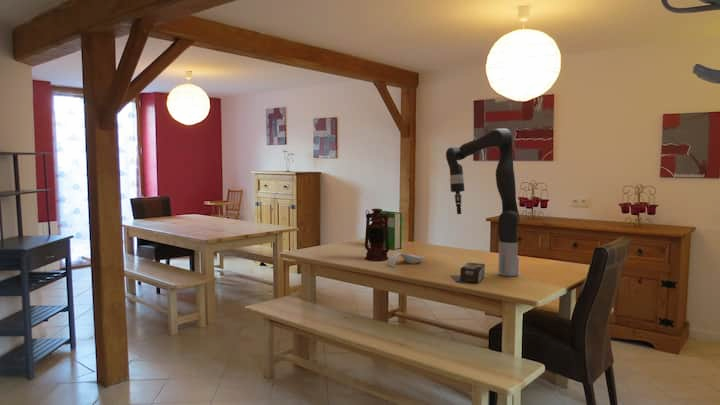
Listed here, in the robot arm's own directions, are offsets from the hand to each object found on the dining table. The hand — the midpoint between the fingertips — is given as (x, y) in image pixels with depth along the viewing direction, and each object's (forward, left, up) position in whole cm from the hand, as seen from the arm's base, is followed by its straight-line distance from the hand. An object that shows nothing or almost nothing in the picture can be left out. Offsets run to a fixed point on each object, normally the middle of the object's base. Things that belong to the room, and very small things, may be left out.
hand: (459, 214), depth 278 cm
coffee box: (-3, +26, -25) cm, 36 cm away
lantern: (+45, -17, -29) cm, 56 cm away
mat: (+4, +33, -29) cm, 44 cm away
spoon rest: (+29, -4, -29) cm, 41 cm away
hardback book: (+35, -54, -29) cm, 71 cm away
